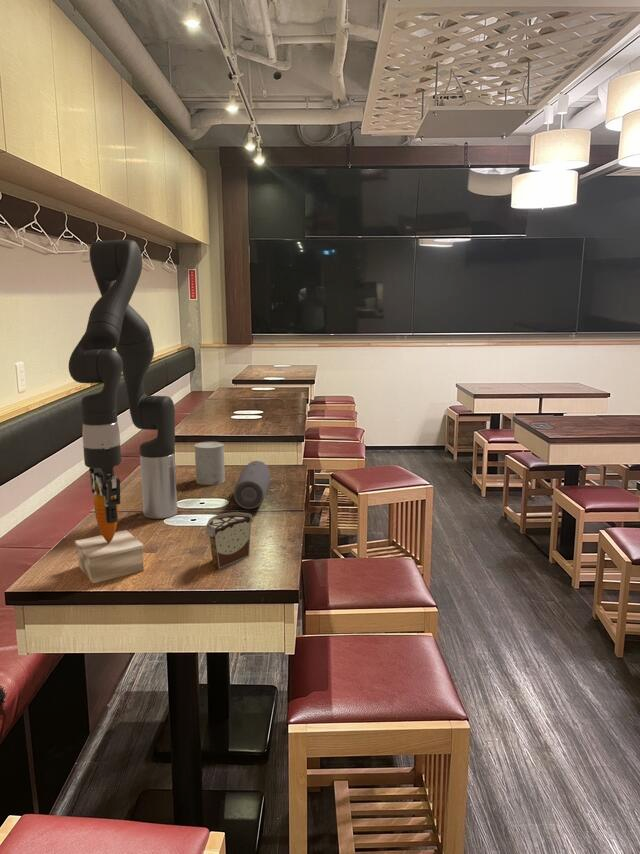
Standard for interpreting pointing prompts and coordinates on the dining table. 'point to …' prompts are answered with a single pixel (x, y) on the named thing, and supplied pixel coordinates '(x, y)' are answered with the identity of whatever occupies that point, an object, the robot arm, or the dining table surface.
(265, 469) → the bluetooth speaker
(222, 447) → the grey cylinder
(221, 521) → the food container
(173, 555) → the dining table surface
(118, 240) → the robot arm
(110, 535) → the carrot
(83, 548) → the wooden stand
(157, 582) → the dining table surface
